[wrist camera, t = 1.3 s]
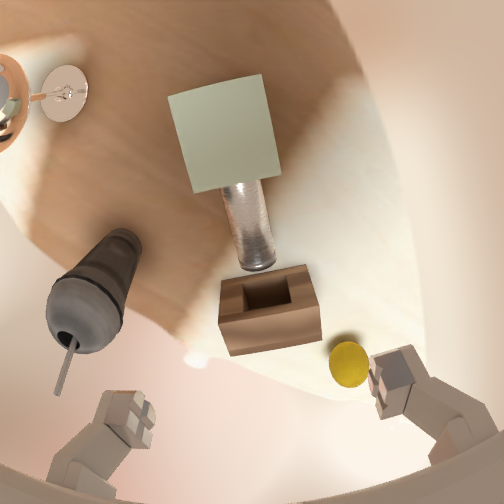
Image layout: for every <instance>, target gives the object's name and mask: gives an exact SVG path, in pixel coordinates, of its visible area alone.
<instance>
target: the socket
mask: <svg viewBox="0 0 504 504" xmlns="http://www.w3.org/2000/svg"><path fill="white" fill-rule="evenodd" d="M218 326H219V328H220V331H221V334H222V336H223V339H224V341H225V344H226V346H227V349H228V351H229V354H230V356H238V355H245V354H251V353H257V352H263V351H269V350H275V349H281V348H286V347H291V346H296V345H302V344H307V343H311V342H316V341H321V340H322V330H321V319H320V308H319V303H318V300H317V297H316V294H315V291H314V288H313V285H312V282H311V279H310V276H309V273H308V270H307V267H306V264H305V265H300V266H295V267H290V268H285V269H280V270H275V271H270V272H265V273H260V274H255V275H249V276H244V277H239V278H233V279H228V280H223V281H221V292H220V304H219V316H218Z"/></svg>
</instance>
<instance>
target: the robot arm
mask: <svg viewBox="0 0 504 504" xmlns="http://www.w3.org/2000/svg"><path fill="white" fill-rule="evenodd" d="M369 364H370V367H371V369H370V370H369V371H368V382H369V387H370V391H371V394H372V396H374V397H375V398H377V399H376V408H377V411H378V414H379V417H380V420H383V419H386V418H390V417H394V416H397V415H400V414H403V415H404V416H405V417H407V418H408V419H409V420H410V421H412V422H413V423H414V424H416V425H417V426H418V427H420V428H421V429H422V430H423V431H425V432H426V433H427V434H429V435H430V436H431V437H432V438H434V439H435V440H436V441H437V442H436V444H435V445H434V447H433V448H432V450H431V452H430V453H429V455H428V457H429V460H430V463H431V466H430V467H428V468H425V469H423V470H420V471H417V472H415V473H412V474H410V475H407V476H404V477H401V478H398V479H395V480H392V481H389V482H386V483H383V484H379V485H376V486H373V487H369V488H365V489H361V490H357V491H354V492H350V493H345V494H341V495H336V496H332V497H327V498H321V499H316V500H310V501H304V502H297V503H290V504H504V430H502V431H500V432H499V431H498V429H497V427H496V425H495V423H494V421H493V419H492V418H491V416H490V414H489V412H488V410H487V408H486V406H485V404H483V403H482V402H480V401H478V400H476V399H474V398H472V397H471V396H469V395H467V394H465V393H463V392H461V391H459V390H457V389H456V388H454V387H452V386H450V385H448V384H447V383H445V382H443V381H441V380H439V379H438V378H436V377H431V378H430V376H429V374H428V372H427V370H426V368H425V367H424V365H423V363H422V361H421V359H420V357H419V356H418V354H417V352H416V350H415V348H414V347H413V346H412V345H411V344H410V345H406V346H403V347H400V348H395V349H392V350H389V351H386V352H382V353H379V354H375V355H372V356H370V358H369ZM144 398H145V395H144V394H143V393H142V392H141V391H113V390H112V391H111V390H108V391H107V390H106V391H105V392H104V393H103V394H102V397H101V399H100V402H99V405H98V408H97V411H96V414H95V417H94V419H93V422H92V423H89V424H88V425H87V426H86V427H85V428H84V429H83V430H81V431H80V432H79V433H78V434H77V435H76V436H75V437H74V438H73V439H72V440H71V441H70V442H68V443H67V444H66V445H65V446H64V447H63V448H62V449H61V450H60V451H59V452H58V453H56V454H55V455H54V457H53V460H52V463H51V466H50V469H49V472H48V476H47V479H46V481H43V480H41V479H37V478H35V477H32V476H29V475H27V474H24V473H21V472H19V471H16V470H14V469H12V468H9V467H7V466H5V465H2V464H0V504H143V503H135V502H129V501H123V500H117V499H115V496H116V488H115V487H114V486H113V485H111V484H110V483H108V482H107V480H108V479H109V477H110V476H111V475H112V473H113V472H114V471H115V470H116V468H117V467H118V466H119V465H120V463H121V462H122V461H123V459H124V458H125V457H126V456H127V454H128V453H129V452H130V450H131V449H130V448H136V449H150V445H151V441H152V433H151V431H150V429H151V428H152V427H153V426H154V425H155V419H156V417H155V410H154V408H153V406H152V405H151V403H149V402H148V401H146V400H144Z"/></svg>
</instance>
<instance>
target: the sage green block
mask: <svg viewBox="0 0 504 504" xmlns="http://www.w3.org/2000/svg"><path fill="white" fill-rule="evenodd" d="M168 101H169V105H170V109H171V113H172V117H173V120H174V124H175V128H176V132H177V135H178V139H179V143H180V146H181V150H182V154H183V157H184V161H185V164H186V168H187V171H188V175H189V178H190V182H191V185H192V189H193V192H194V194H195V193H200V192H204V191H208V190H212V189H217V188H221V187H226V186H230V185H235V184H239V183H244V182H249V181H254V180H259V179H264V178H269V177H274V176H279V175H282V173H281V168H280V163H279V157H278V152H277V147H276V142H275V137H274V132H273V127H272V122H271V117H270V112H269V108H268V103H267V98H266V94H265V89H264V84H263V80H262V75H261V74H258V75H252V76H247V77H242V78H237V79H233V80H228V81H224V82H219V83H215V84H211V85H207V86H203V87H199V88H196V89H192V90H188V91H185V92H181V93H178V94H174V95H171V96H168Z"/></svg>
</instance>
